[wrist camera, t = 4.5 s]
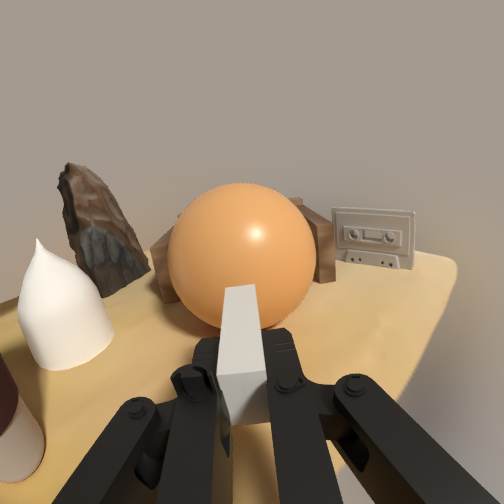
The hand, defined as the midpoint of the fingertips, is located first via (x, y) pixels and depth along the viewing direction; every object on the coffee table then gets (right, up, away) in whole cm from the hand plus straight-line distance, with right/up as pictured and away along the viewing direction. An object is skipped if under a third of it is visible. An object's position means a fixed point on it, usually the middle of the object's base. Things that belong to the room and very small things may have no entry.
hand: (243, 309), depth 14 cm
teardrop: (-19, -7, +10) cm, 23 cm away
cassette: (+17, +1, +21) cm, 27 cm away
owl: (-22, -2, +27) cm, 35 cm away
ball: (0, +2, +10) cm, 11 cm away
